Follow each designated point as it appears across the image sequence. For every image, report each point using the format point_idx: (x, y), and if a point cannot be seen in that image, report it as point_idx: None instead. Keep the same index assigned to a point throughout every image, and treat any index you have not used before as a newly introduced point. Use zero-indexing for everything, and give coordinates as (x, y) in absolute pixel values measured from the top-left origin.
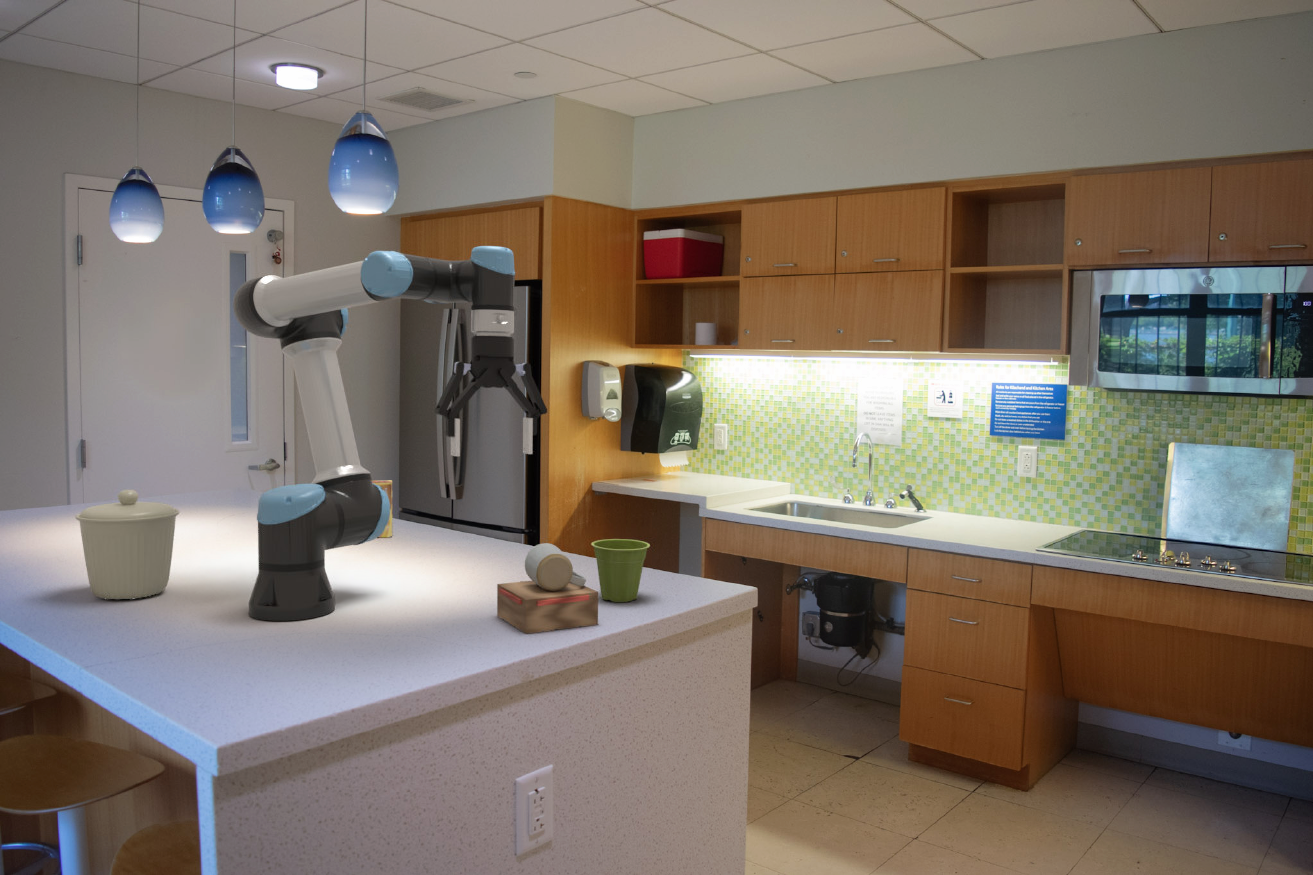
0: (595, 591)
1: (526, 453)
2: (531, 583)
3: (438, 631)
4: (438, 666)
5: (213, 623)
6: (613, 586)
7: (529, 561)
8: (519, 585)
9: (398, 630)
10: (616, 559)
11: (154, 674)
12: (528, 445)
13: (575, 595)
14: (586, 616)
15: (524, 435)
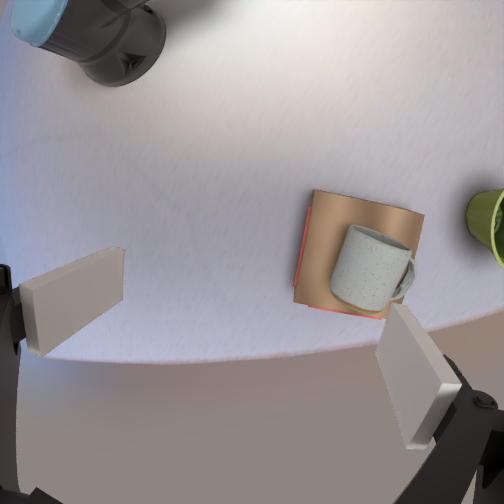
0: None
1: (381, 335)
2: (359, 219)
3: (214, 213)
4: (164, 326)
5: (62, 67)
6: (475, 234)
7: (344, 252)
8: (337, 219)
9: (179, 181)
10: (492, 252)
11: (10, 204)
12: (381, 369)
13: (364, 314)
14: None
15: (405, 351)
